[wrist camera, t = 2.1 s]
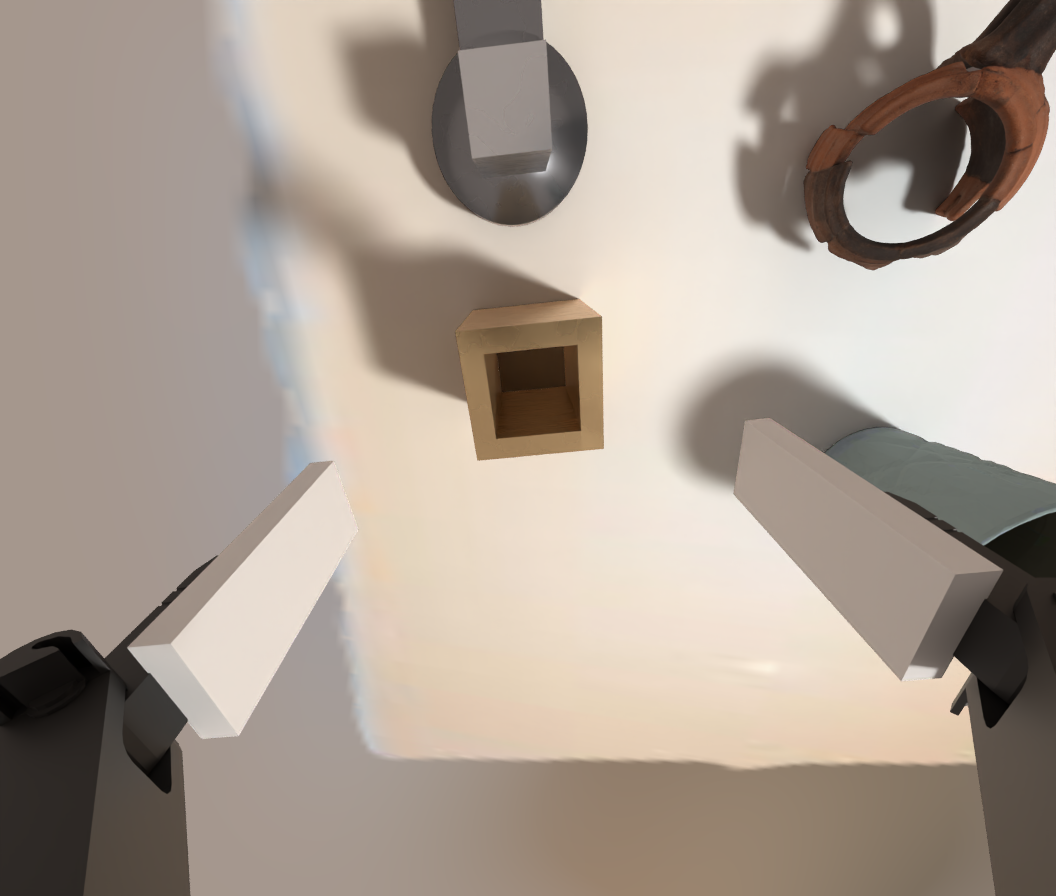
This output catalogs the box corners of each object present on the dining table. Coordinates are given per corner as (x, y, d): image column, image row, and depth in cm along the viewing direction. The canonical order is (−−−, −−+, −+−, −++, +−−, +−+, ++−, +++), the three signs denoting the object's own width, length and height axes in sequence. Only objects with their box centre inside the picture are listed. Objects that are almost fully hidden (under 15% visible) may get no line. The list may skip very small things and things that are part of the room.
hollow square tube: (579, 298, 26) (601, 316, 19) (582, 400, 29) (603, 448, 22) (473, 310, 26) (455, 331, 19) (488, 409, 29) (477, 460, 22)
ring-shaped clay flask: (919, 267, 26) (957, 301, 20) (769, 230, 28) (764, 250, 23) (1127, -7, 18) (1288, -83, 12) (894, -24, 21) (936, -93, 15)
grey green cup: (778, 515, 34) (898, 637, 23) (836, 404, 29) (1018, 492, 19) (885, 528, 35) (1050, 652, 24) (958, 423, 30) (1199, 517, 20)
